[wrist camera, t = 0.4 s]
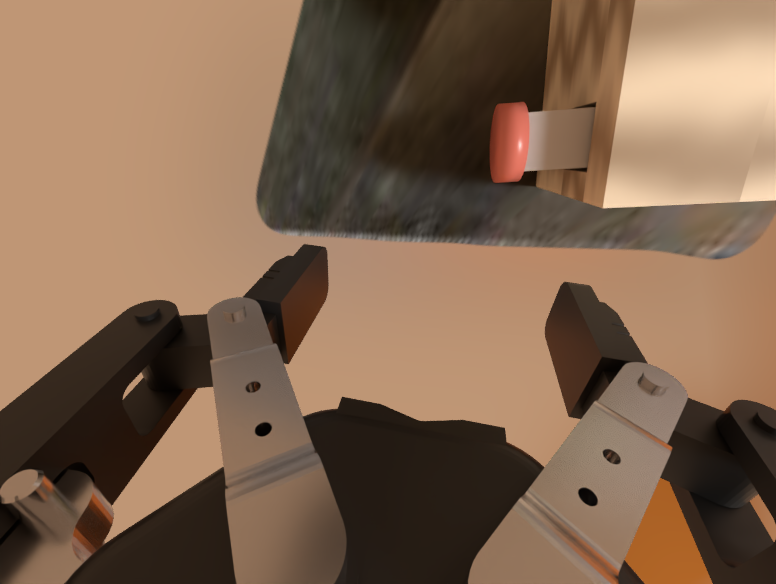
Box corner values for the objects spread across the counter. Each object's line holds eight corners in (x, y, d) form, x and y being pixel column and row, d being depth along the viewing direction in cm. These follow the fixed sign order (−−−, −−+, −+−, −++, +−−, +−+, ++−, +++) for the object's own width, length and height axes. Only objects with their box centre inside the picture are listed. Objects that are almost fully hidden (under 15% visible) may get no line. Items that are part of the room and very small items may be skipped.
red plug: (491, 108, 27) (505, 98, 22) (612, 98, 26) (655, 86, 21) (488, 179, 29) (501, 186, 24) (601, 173, 28) (638, 178, 23)
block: (559, -84, 27) (682, -300, 14) (702, -104, 26) (979, -359, 13) (535, 186, 34) (602, 208, 21) (646, 180, 33) (787, 199, 20)
